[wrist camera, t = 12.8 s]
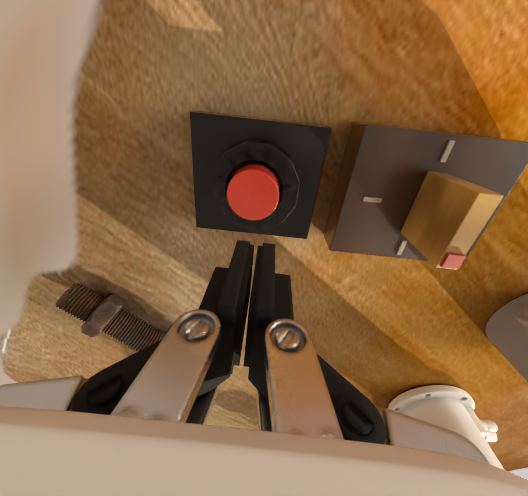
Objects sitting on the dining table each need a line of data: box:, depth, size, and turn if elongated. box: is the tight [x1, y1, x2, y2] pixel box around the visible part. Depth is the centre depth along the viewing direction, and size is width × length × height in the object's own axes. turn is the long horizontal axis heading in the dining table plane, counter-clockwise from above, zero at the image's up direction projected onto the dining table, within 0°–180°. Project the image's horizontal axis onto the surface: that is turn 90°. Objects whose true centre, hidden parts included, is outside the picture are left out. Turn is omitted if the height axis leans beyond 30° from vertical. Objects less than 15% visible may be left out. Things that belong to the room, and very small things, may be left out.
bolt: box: [56, 284, 167, 351], centre depth 28 cm, size 6×5×15 cm
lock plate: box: [324, 122, 528, 264], centre depth 19 cm, size 12×10×3 cm
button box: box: [190, 111, 331, 239], centre depth 19 cm, size 10×9×4 cm
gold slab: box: [401, 171, 504, 269], centre depth 16 cm, size 5×1×5 cm, turn 174°
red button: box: [227, 164, 279, 220], centre depth 17 cm, size 4×4×2 cm
